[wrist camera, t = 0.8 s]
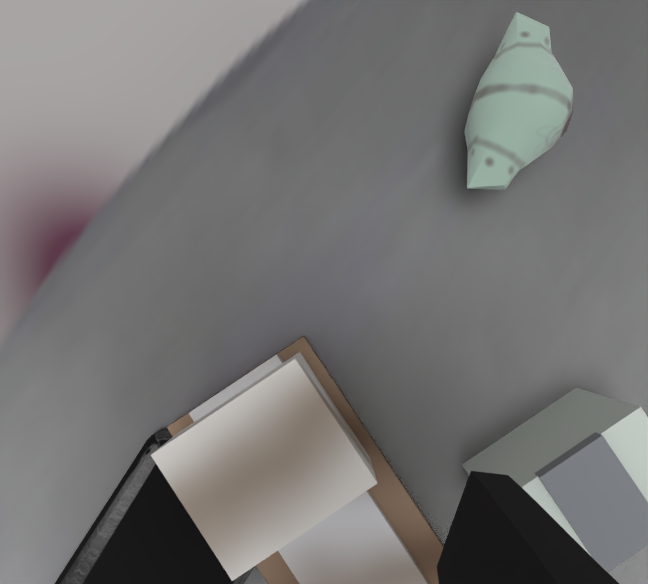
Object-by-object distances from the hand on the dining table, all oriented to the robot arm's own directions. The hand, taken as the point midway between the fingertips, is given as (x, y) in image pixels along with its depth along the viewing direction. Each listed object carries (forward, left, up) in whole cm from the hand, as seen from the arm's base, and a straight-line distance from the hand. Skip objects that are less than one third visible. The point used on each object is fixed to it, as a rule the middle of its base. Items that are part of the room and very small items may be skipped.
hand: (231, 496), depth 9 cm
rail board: (-11, +3, -20) cm, 23 cm away
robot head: (+4, -15, -21) cm, 25 cm away
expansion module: (-11, -8, -20) cm, 24 cm away
